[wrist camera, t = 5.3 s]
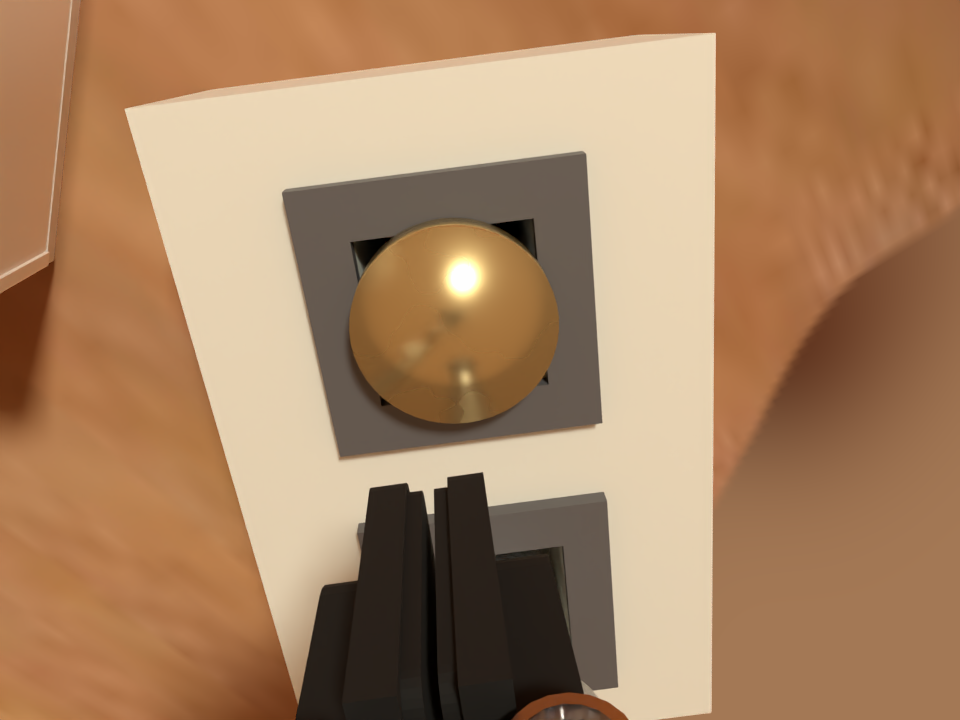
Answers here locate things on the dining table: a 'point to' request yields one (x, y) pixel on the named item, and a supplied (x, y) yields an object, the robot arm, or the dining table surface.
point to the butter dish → (33, 129)
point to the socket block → (581, 340)
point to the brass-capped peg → (453, 321)
